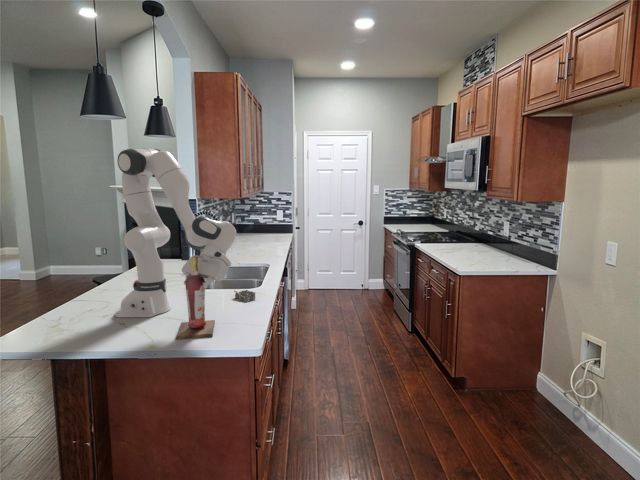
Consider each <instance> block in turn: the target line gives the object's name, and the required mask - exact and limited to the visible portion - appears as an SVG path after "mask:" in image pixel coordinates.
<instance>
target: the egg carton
mask: <svg viewBox="0 0 640 480" xmlns="http://www.w3.org/2000/svg"><path fill="white" fill-rule="evenodd" d="M233 292H234V299H236V300H239V301H243V302H250V301H251V300H252V301H253V300H256V294H257V292H254V291H251V290H248V289H245V290H244V289H243V290H241V291H239V292H238V291H236V290H233ZM237 298H238V299H237Z"/></svg>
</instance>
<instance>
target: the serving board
mask: <svg viewBox="0 0 640 480" xmlns="http://www.w3.org/2000/svg"><path fill="white" fill-rule="evenodd" d="M205 322H206V325H205V326H204V327H203V328H201V329H192V328H190V327H189V326H188V324H189V321H182V322H181V323H180V325H179V328H178V330H177V332H176V335H175V340H188V339H199V338H210V337H213V335H214V328H215V323H216V322H215V319H212V320H210V319H209V320H205Z"/></svg>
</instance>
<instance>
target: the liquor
mask: <svg viewBox="0 0 640 480" xmlns="http://www.w3.org/2000/svg"><path fill="white" fill-rule="evenodd" d="M189 259H191V277H190V278H188V279H187V280H186V279H185V280H186V281H185V280H184V281H185V284H184V285H185V296H186V302H187V313H188V315H187V316H188V322H189V324H188V326H189V327H190V328H192V329H201V328H203V327H204V326H205V325H206V322H205V321H206V314H205V313H206V312H205V311H206V309H205V306H206V303H205V302H206V289H204V288H202V287H201V285H202V283H203V282H204V283H205V282H206V279H205V278H202V277H200V276H199V272H198V265H197V264H198V257H197V256H195V255H193V256H190V258H189Z"/></svg>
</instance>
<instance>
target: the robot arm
mask: <svg viewBox="0 0 640 480" xmlns="http://www.w3.org/2000/svg"><path fill="white" fill-rule="evenodd" d="M117 166H118V169H119V170H120V171H121V172H122V174H121V184H122V185H121V186H122V192H123V198H124V201H125V205H126V210H127V212H128V214H129V216H130V217H131V218H133V220H134V221H135V222H136V224H137V226H136V227H133V228H132V229H130V230H129V231H127V232H126V233H125V235H124V238H123V241H124V245H125V248H127V250H128V251H130V252H131V254H132V256H133V259H134V262H135V264H136V265H135V266H136V274H137V279H135V280H134V282H133V284H132V287H133V289H132V290H131V291H130V292H129V293H128V294H126V295H125V296H124V297H123V298H122V299H121V302H120V306H119V307H120V308H118V309H117V310H116V311H114V312H115V313H114V317H115V318H152V317H154V316H157V315H161V314H164V313H166V312H168V311H170V310H171V306H170V304H169V301H168V296H167V287H168V286H167V281H166V278H165V265H164V264H165V263H164V261H163V260H162V259H161V258H160V255H159V253H158V249H157V248H161V247H163V246H164V245H165V244H167V243H168V242H169V241H170V238H171V231H170V228H169V227H168V226H166V224H164V222H163V220H162V219H161V217H160V214H159V213H158V210H157V207H156V206H155V201H154V197H153V193H152V190H151V185H150V178H151V177H153V178H155V179H156V181H157V182H158V185H159V187H160V188H161V189H162V191H163V193H164V194H165V196H166V197H167V200H168V202H169V203H170V205H171V206H172V208H173V211H174V212H175V215H176V216H177V219H178V221H179V223H180V224H181V226H182V228H183V233H184V238H185V242H186V243H185V244H187V246H188V247H189V248H191V249H193V250H198V251H199V250H202V251H201V252H200V255H198V254H195V255H194V256H197V257H198V264H197V265H198V272H199V276H200V277H202V278H204V279H205V283H204V282H203V283H202V285H201V287H202V288H204V289H205V290H206V289H208V286H209V285H211V284H212V283H214V281H218V282H220V281H223V280H224V279H225V277H226V276H227V274H228V271H229V267H231V266H232V261H231V260H230V258H228V256H227V252H228V251H229V250H230V248H231V247H232V246H233V243H234V242H235V239H236V237H237V229H236V227H235V226H234V225H233V224H232V222H229V221H227V220H222V221H221V220H220V221H218V220H214V219H211V218H209V217H207V216H198V217H195V215H194V213H193V211H192V209H191V206H190V201H189V200H190V199H189V196H190V195H189V194H190V182H189V179H188V177H187V174H186V173H185V171H184V169H183V167H182V166H181V165H180V163H179V162H178V160H177V159H176V158H175V157H174V155H172V153H170V152H169V151H167V150H161V149H158V148H148V147H146V148H145V147H142V148H127V149H124V150H121V151H120V152H119V154H118V156H117ZM181 272H182V273H183V274H184V275H185V279H184V282H183V284H184V285H185V281H186V280H187V279H188V278H190V277H191V259H190V258H188V260H187V261H186V262H185V263H184V265H183V266H182V268H181Z"/></svg>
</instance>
